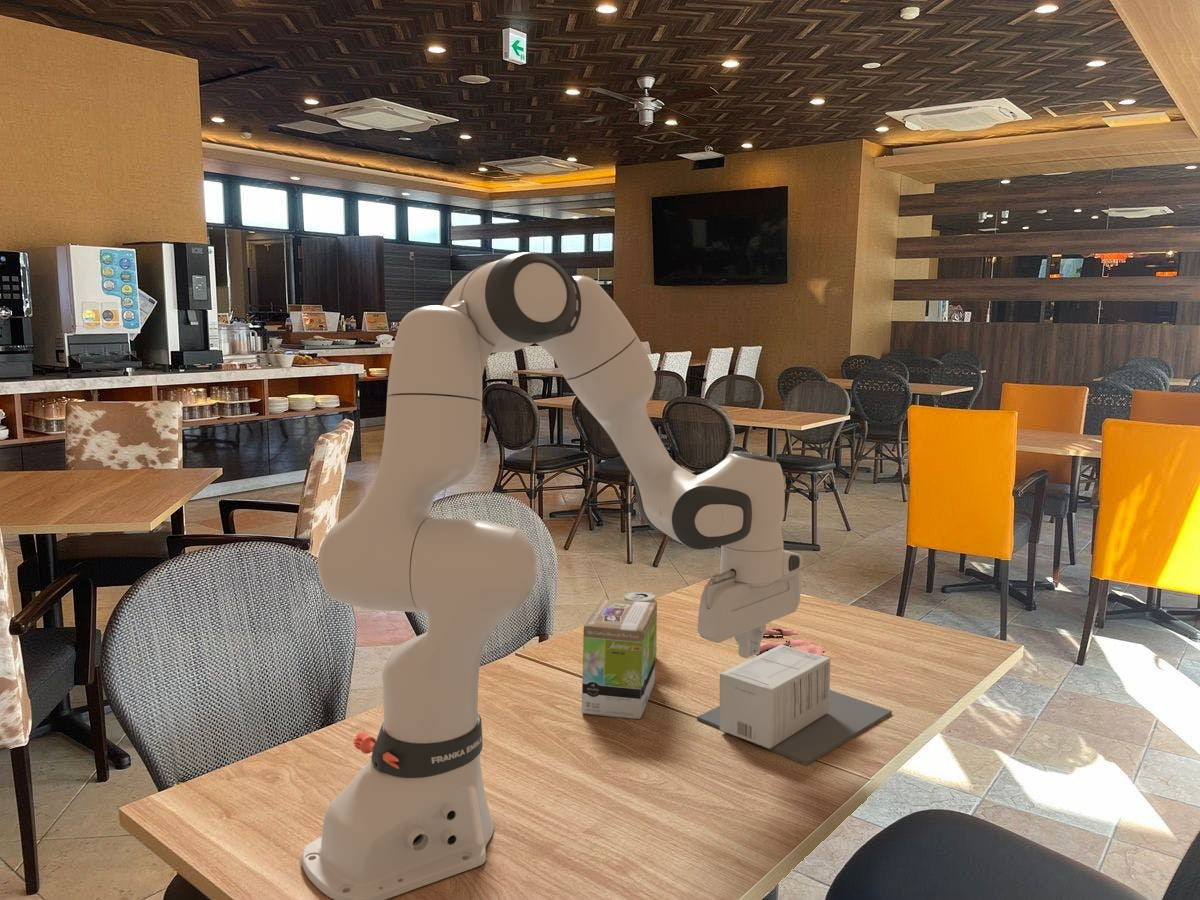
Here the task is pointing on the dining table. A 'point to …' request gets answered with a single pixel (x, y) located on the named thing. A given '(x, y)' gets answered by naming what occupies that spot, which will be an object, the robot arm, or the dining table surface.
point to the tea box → (619, 658)
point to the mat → (821, 728)
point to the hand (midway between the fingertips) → (749, 654)
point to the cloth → (780, 631)
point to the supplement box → (774, 695)
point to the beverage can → (641, 598)
